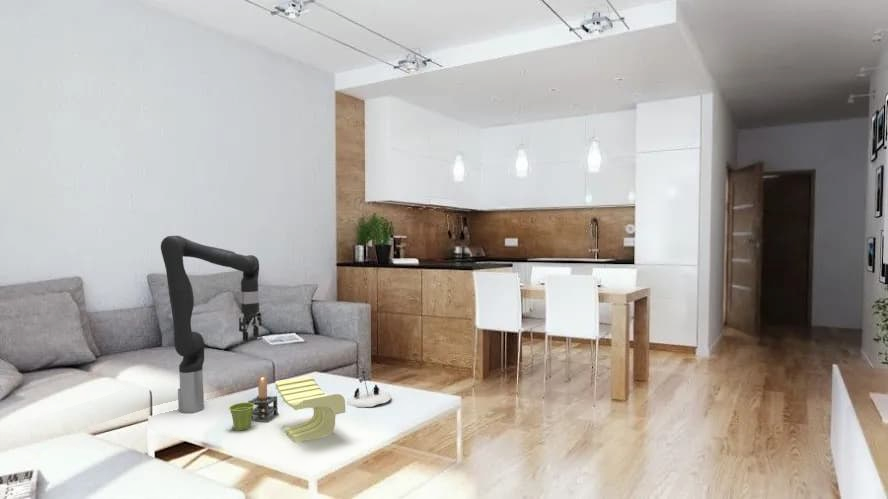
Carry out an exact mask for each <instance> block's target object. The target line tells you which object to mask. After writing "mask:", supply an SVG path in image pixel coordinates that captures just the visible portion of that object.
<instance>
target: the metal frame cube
mask: <svg viewBox="0 0 888 499" xmlns="http://www.w3.org/2000/svg"><path fill="white" fill-rule="evenodd" d="M247 403H253V404H254V406H256V407H253V411H252V420H251V421H255V423H267V424H268V423H270V422H271V421H272V420H274V419H275V418H277V417H278V416H279V412H278V396H275V395H274V396H269V395H267V401H266V402H259V394H258V395H257V396H256V397H254V398H253V399H251V400H249V401H247ZM270 404H273V405H270ZM259 405H264V407H265V412H259ZM259 415H265V417H259Z"/></svg>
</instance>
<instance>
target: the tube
mask: <svg viewBox="0 0 888 499" xmlns="http://www.w3.org/2000/svg"><path fill="white" fill-rule="evenodd" d="M257 385H258V389H257V390H258V391H257V393H258V395H259V402H266V401H268V400H267V396H268V376H266V375H262V376H260V375H259V376H258V378H257ZM259 412H265V407H264V405H259ZM259 417H265V415H259Z"/></svg>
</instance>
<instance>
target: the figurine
mask: <svg viewBox="0 0 888 499" xmlns="http://www.w3.org/2000/svg"><path fill="white" fill-rule="evenodd" d="M358 368H359V372H361V373H362V374H361V375H359V374H356V373H353V374H354V375H355V377H357V378H358V381H359V383H362V382H364V384H365V389H366V390H365V391H361V392H360V387H357V388H356V390H355V391H354V395H352V396H351V397H350V398H348V399H347V402H346V404H347V406H351V407H356V408H366V407H367V408H370V407H374V406H377V405H380V404H385V403H387V402H389V401H390V400H391V399H392V395H391V393H389V392H387V391H384V390H383V391H382V390H380V388H379V387H378V385H377V384H374V387H373V388H372V390H368V387H367V383H366V381H368V380H369V379H370V378H371V376H370V373H369V372H368V373H366V370H365V367H363V366H359V367H358ZM365 377H367V378H365Z"/></svg>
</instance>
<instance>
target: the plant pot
mask: <svg viewBox="0 0 888 499" xmlns="http://www.w3.org/2000/svg"><path fill="white" fill-rule="evenodd" d="M254 408H255V405H254V404H253V403H248V402H238V403H234V404H231V405H230V406H229V407H228V410H229V411H230V414H231V417H232V423H233V428H234V430H235V431H238V430H239V431H241V430H242V431H246V430H248V429H251V427H252V422H251V420H252V411H253V409H254Z"/></svg>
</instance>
